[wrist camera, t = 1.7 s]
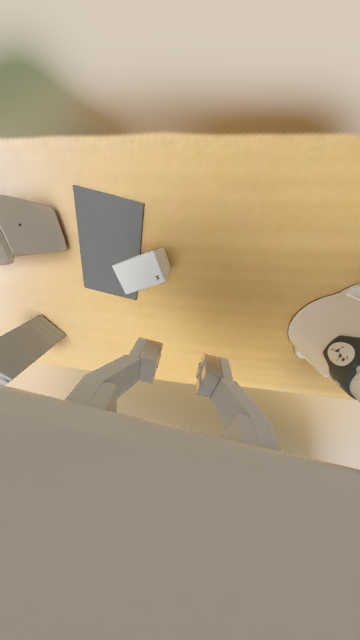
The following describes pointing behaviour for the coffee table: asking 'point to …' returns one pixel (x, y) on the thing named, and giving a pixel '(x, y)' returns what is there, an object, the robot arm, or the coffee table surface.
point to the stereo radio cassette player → (27, 229)
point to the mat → (107, 237)
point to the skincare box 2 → (143, 270)
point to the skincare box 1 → (26, 346)
